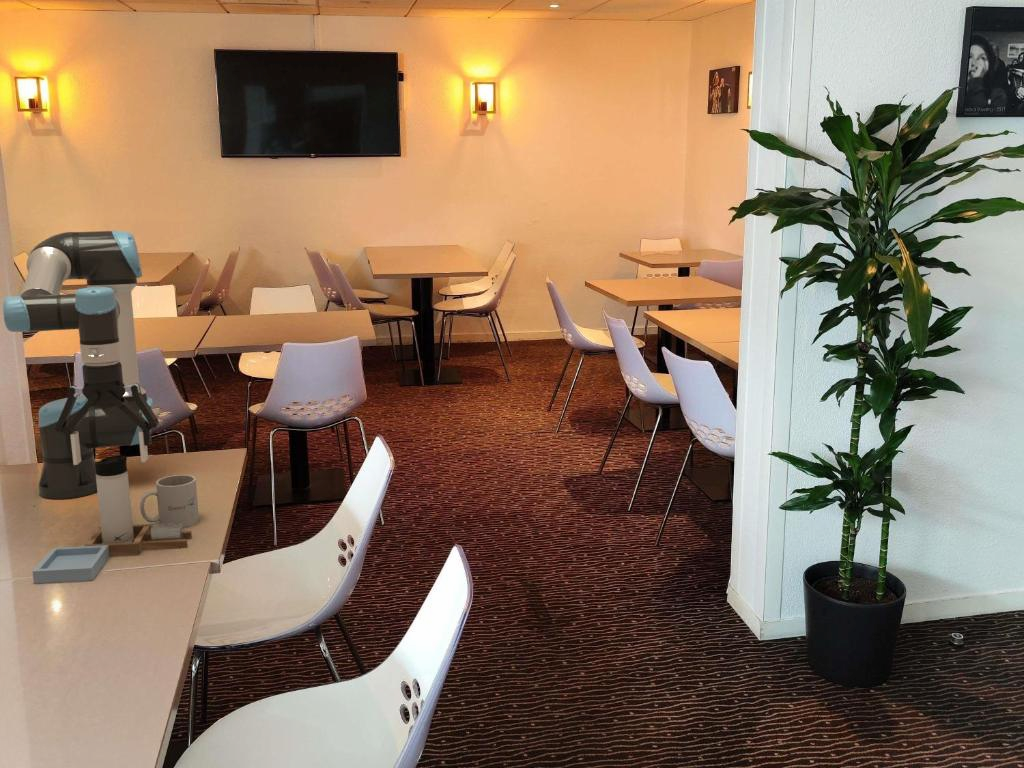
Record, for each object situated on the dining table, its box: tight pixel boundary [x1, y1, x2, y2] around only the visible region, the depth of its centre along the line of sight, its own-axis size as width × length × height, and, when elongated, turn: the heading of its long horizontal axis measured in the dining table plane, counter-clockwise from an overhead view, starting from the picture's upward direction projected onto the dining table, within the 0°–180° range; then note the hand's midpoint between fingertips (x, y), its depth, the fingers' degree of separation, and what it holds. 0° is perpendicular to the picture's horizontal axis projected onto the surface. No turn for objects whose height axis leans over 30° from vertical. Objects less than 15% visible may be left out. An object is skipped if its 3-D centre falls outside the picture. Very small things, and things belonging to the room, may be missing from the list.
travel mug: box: [95, 455, 135, 544], centre depth 203 cm, size 6×7×20 cm
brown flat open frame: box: [84, 523, 193, 558], centre depth 206 cm, size 12×20×2 cm, turn 98°
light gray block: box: [151, 523, 184, 541], centre depth 206 cm, size 3×6×4 cm, turn 98°
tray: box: [32, 545, 110, 585], centre depth 193 cm, size 12×11×3 cm
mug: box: [139, 474, 200, 528], centre depth 218 cm, size 12×9×10 cm
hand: (111, 461), depth 201 cm, fingers open, 13 cm apart
